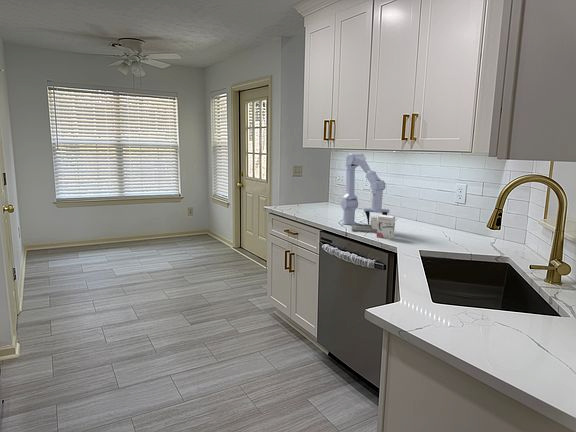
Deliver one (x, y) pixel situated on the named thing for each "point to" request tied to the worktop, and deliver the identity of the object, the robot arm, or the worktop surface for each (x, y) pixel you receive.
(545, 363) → the worktop surface
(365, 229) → the console
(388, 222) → the ink box
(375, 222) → the near fader knob
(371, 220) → the far fader knob
